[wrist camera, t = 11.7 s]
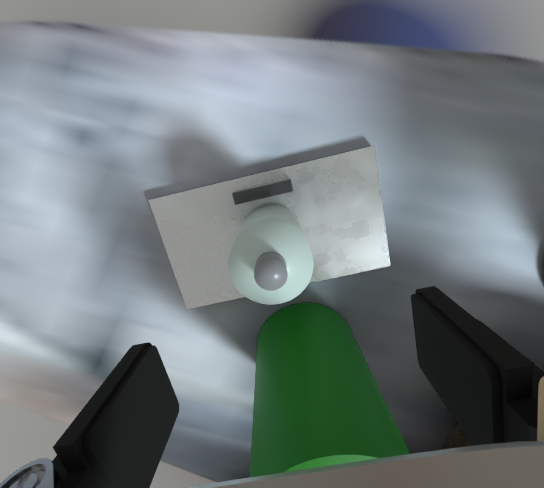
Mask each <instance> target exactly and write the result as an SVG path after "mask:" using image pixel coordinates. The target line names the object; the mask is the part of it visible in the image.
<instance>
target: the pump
mask: <svg viewBox="0 0 544 488" xmlns="http://www.w3.org/2000/svg"><path fill="white" fill-rule="evenodd" d="M313 268H314V262H313V256H312V252H311V250H310V247H309V245H308V243H307V240H306V238H305V236H304V233H303V231H302V229H301V226H300V224H299V222H298V220H297V218H296V217H295V215H294V214H293V213H292V212H291V211H289V210H288V209H286V208H284V207H282V206H279V205H263V206H260V207H258V208H256V209H254V210H253V211H252V212H250V213H249V214H248V215H247V217H246V218H245V220H244V222H243V224H242V226H241V228H240V231H239V233H238V235H237V238H236V240H235V242H234V244H233V247H232V249H231V252H230V255H229V259H228V269H229V274H230V277H231V280H232V282H233V284H234V286H235V287H236V288H237V290H238V291H239V292H240V293H241V294H243V295H244V296H245V297H247V298H248V299H250V300H252V301H254V302H257V303H261V304H268V305H274V304H281V303H285V302H287V301H290V300H292V299H294V298H295V297H297V296H298V295H299V294H300V293H301V292H302V291H303V290H304V289H305V288H306V287H307V285H308V283H309V282H310V279H311V277H312V273H313Z"/></svg>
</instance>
